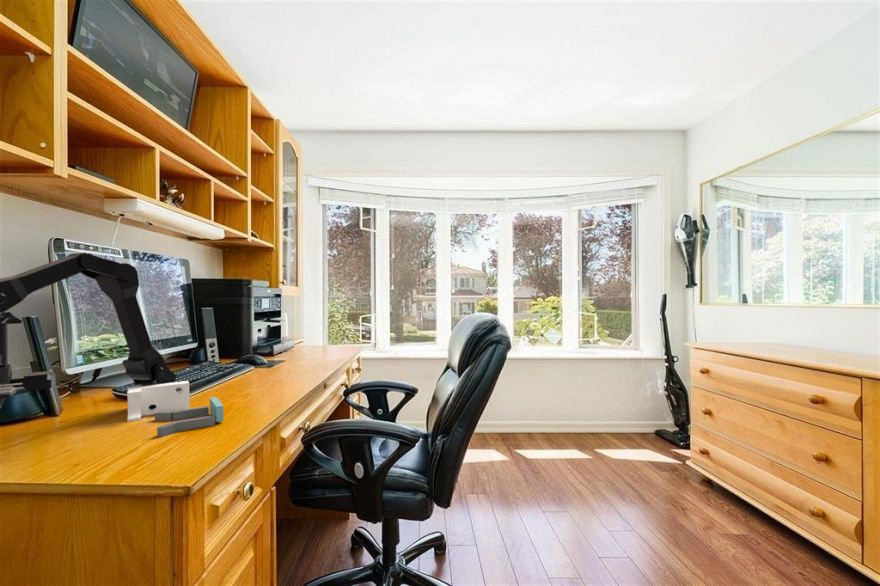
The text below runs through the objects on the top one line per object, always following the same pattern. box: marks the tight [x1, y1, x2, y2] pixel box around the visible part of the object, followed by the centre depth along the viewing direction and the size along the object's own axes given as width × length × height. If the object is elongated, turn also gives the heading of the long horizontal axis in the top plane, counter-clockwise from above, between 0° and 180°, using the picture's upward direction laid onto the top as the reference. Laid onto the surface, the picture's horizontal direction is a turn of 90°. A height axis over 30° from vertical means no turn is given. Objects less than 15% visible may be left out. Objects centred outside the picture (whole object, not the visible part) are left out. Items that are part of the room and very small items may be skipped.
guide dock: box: [154, 405, 216, 438], centre depth 96 cm, size 16×11×2 cm
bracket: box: [126, 380, 190, 422], centre depth 104 cm, size 13×7×8 cm
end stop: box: [209, 396, 224, 423], centre depth 100 cm, size 10×2×4 cm, turn 37°
